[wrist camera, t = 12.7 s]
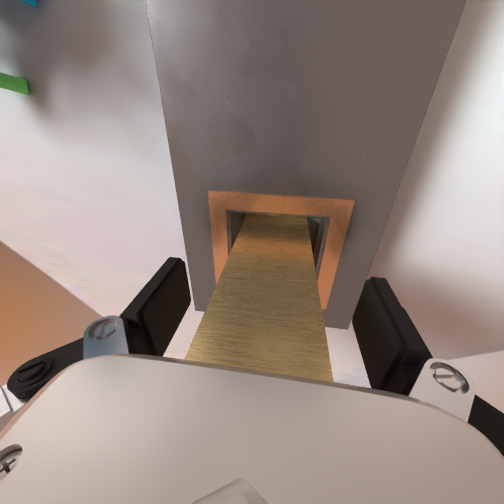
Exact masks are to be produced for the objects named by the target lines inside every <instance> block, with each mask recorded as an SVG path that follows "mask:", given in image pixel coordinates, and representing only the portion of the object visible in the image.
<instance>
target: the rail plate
mask: <svg viewBox="0 0 504 504" xmlns="http://www.w3.org/2000/svg"><path fill="white" fill-rule="evenodd" d="M465 2H466V0H146V5H147V11H148V17H149V24H150V30H151V36H152V42H153V49H154V55H155V61H156V67H157V74H158V80H159V86H160V92H161V99H162V105H163V111H164V117H165V124H166V130H167V136H168V142H169V149H170V155H171V161H172V167H173V174H174V180H175V186H176V192H177V199H178V205H179V211H180V217H181V224H182V230H183V236H184V242H185V249H186V255H187V261H188V267H189V274H190V280H191V286H192V292H193V299H194V305H195V311H203V312H205V310H206V308H207V306H208V303H209V301H210V299H211V296H212V294H213V292H214V289H215V287H216V284H217V282H218V280H219V277H220V275H221V273H222V270H223V268H224V266H225V263H226V261H227V259H228V256H229V254H230V252H231V249H232V247H233V245H234V242H235V240H236V238H237V212H241V213H255V214H269V215H283V216H297V217H311V218H320V221H319V227H318V232H317V237H316V242H315V248H314V253H313V259H314V265H315V271H316V277H317V283H318V290H319V296H320V302H321V308H322V314H323V320H324V326H325V327H332V328H340V329H348V327H349V324H350V322H351V319H352V316H353V313H354V310H355V308H356V305H357V302H358V299H359V297H360V294H361V291H362V288H363V285H364V283H365V280H366V277H367V274H368V272H369V269H370V266H371V263H372V260H373V258H374V255H375V252H376V249H377V247H378V244H379V241H380V238H381V235H382V233H383V230H384V227H385V224H386V222H387V219H388V216H389V213H390V210H391V208H392V205H393V202H394V199H395V197H396V194H397V191H398V188H399V185H400V183H401V180H402V177H403V174H404V172H405V169H406V166H407V163H408V161H409V158H410V155H411V152H412V149H413V147H414V144H415V141H416V138H417V136H418V133H419V130H420V127H421V124H422V122H423V119H424V116H425V113H426V111H427V108H428V105H429V102H430V99H431V97H432V94H433V91H434V88H435V86H436V83H437V80H438V77H439V74H440V72H441V69H442V66H443V63H444V61H445V58H446V55H447V52H448V49H449V47H450V44H451V41H452V38H453V36H454V33H455V30H456V27H457V24H458V22H459V19H460V16H461V13H462V11H463V8H464V5H465Z"/></svg>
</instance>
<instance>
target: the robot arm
mask: <svg viewBox="0 0 504 504" xmlns="http://www.w3.org/2000/svg"><path fill="white" fill-rule="evenodd" d="M190 302H191V296H190V290H189V284H188V278H187V272H186V266H185V262H184V261H182V259H181V258H174V257H169V258H168V259H167V261H166V262H165V263H164V264H163V265H162V267H161V268H160V269H159V270H158V271H157V272H156V274H155V275H154V276H153V277H152V278H151V280H150V281H149V282H148V283H147V284H146V285H145V286H144V288H143V289H142V290H141V291H140V292H139V294H138V295H137V296H136V297H135V298H134V299H133V301H132V302H131V303H130V304H129V305H128V307H127V308H126V309H125V310H124V311H123V313H122V314H121V315H120V316H114V315H113V316H106V317H102V318H100V319H98V320H96V321H95V322H93V323H92V324H91V325H90V326H88V327H87V329H86V331H85V333H84V337H83V338H81V339H79V340H76V341H74V342H71V343H69V344H67V345H64V346H62V347H60V348H57V349H55V350H53V351H50V352H48V353H46V354H43V355H40V356H38V357H36V358H33V359H32V360H29V361H28V362H26V363H24V364H23V365H21V366H20V367H19V368H18V369H17V370H16V371H15V372H13V374H12V375H11V376H10V378H9V380H8V383H7V384H5V385H4V386H2V387H1V386H0V504H504V414H503V413H502V412H500V411H499V410H497V409H496V408H495V407H493V406H492V405H490V404H489V403H487V402H486V401H484V400H483V399H481V398H480V397H478V396H477V395H475V387H474V385H473V382H472V381H471V379H470V378H469V377H468V375H467V374H466V373H464V372H463V371H462V370H461V369H460V368H458V367H457V366H455V365H454V364H452V363H450V362H448V361H446V360H442V359H438V358H433V357H432V355H431V353H430V352H429V350H428V348H427V346H426V345H425V343H424V341H423V340H422V338H421V336H420V334H419V333H418V331H417V329H416V328H415V326H414V324H413V322H412V321H411V319H410V317H409V316H408V314H407V312H406V311H405V309H404V308H402V306H401V305H400V303H399V301H398V299H397V298H396V296H395V294H394V292H393V291H392V289H391V287H390V285H389V284H388V282H387V280H386V279H385V278H378V277H371V278H370V280H366V282H365V285H364V288H363V290H362V293H361V296H360V299H359V301H358V304H357V307H356V310H355V312H354V315H353V319H352V324H353V327H354V331H355V334H356V338H357V341H358V344H359V348H360V351H361V355H362V358H363V361H364V365H365V368H366V372H367V375H368V378H369V382H370V385H371V388H372V389H371V388H366V387H360V386H354V385H348V384H342V383H335V382H329V381H323V380H316V379H310V378H304V377H297V376H291V375H284V374H278V373H271V372H264V371H258V370H251V369H244V368H238V367H231V366H224V365H217V364H211V363H204V362H197V361H190V360H183V359H176V358H168V357H162V356H163V355H164V353H165V351H166V349H167V347H168V345H169V343H170V341H171V339H172V337H173V336H174V334H175V332H176V330H177V328H178V326H179V324H180V322H181V320H182V318H183V317H184V315H185V313H186V311H187V309H188V307H189V305H190Z"/></svg>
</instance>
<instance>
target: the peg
mask: <svg viewBox="0 0 504 504" xmlns="http://www.w3.org/2000/svg"><path fill="white" fill-rule="evenodd" d="M184 360H190V361H197V362H204V363H211V364H217V365H224V366H231V367H238V368H244V369H251V370H258V371H264V372H271V373H278V374H284V375H291V376H297V377H304V378H310V379H316V380H323V381H329V382H333V376H332V370H331V363H330V357H329V351H328V345H327V339H326V333H325V326H324V320H323V314H322V308H321V302H320V296H319V290H318V283H317V277H316V271H315V265H314V259H313V253H312V246H311V240H310V234H309V228H308V222H307V217H297V216H283V215H269V214H255V213H247V214H246V217H245V219H244V221H243V224H242V226H241V228H240V231H239V233H238V235H237V238H236V240H235V242H234V245H233V247H232V249H231V252H230V254H229V256H228V259H227V261H226V263H225V266H224V268H223V270H222V273H221V275H220V277H219V280H218V282H217V284H216V287H215V289H214V292H213V294H212V296H211V299H210V301H209V303H208V306H207V308H206V310H205V313H204V315H203V317H202V320H201V322H200V324H199V327H198V329H197V331H196V334H195V336H194V338H193V341H192V343H191V345H190V348H189V350H188V352H187V355H186V357H185V359H184Z"/></svg>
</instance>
